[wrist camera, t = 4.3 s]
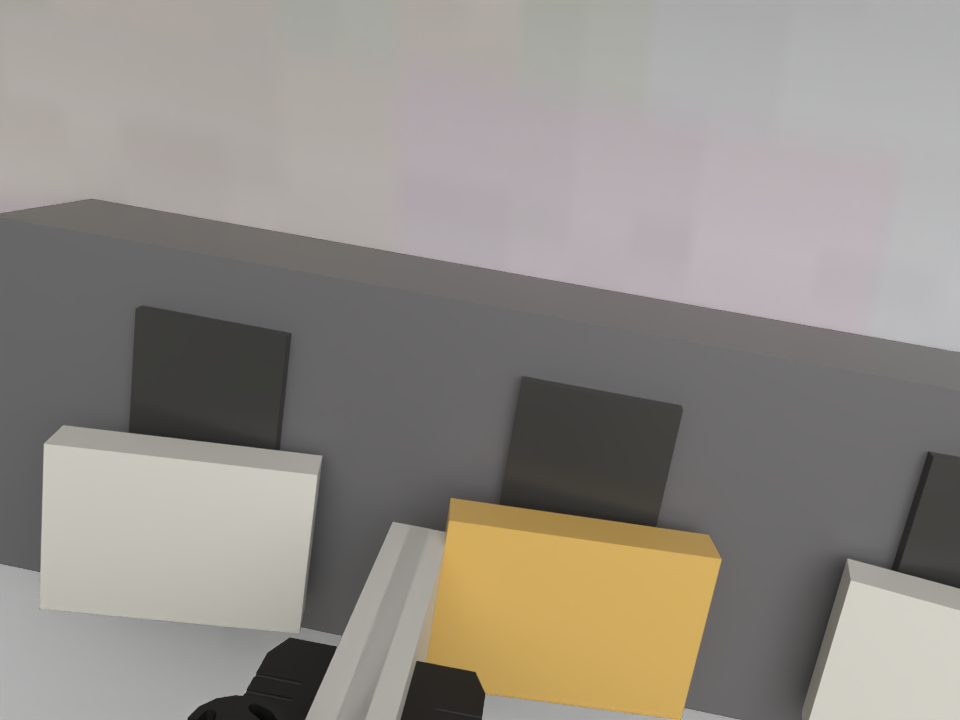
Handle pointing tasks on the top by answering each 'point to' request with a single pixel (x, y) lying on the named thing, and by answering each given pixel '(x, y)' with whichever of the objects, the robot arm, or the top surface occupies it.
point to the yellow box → (572, 607)
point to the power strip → (488, 413)
